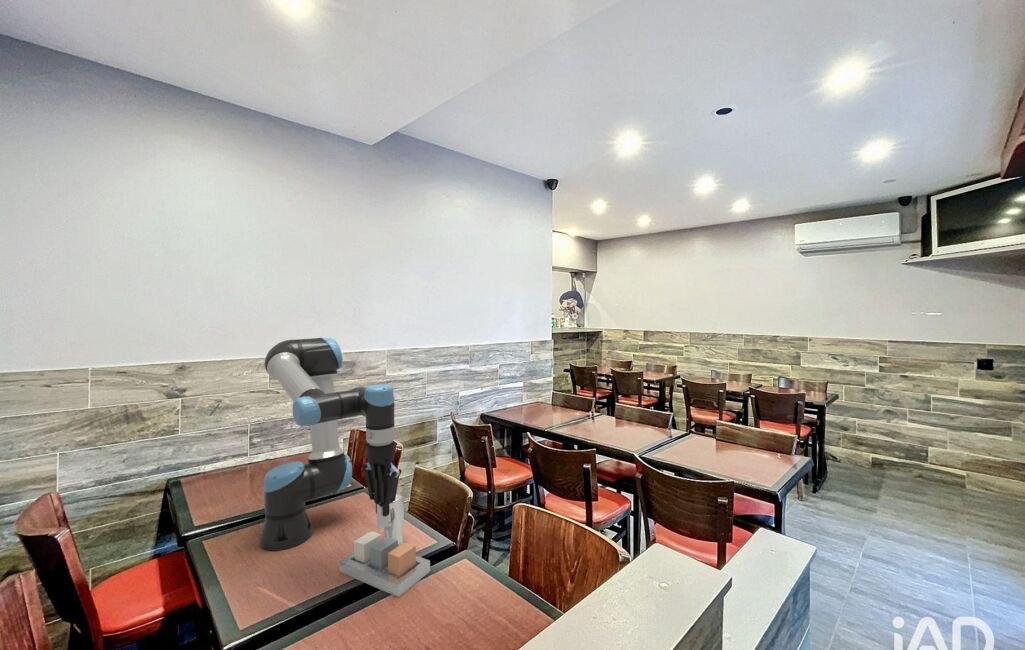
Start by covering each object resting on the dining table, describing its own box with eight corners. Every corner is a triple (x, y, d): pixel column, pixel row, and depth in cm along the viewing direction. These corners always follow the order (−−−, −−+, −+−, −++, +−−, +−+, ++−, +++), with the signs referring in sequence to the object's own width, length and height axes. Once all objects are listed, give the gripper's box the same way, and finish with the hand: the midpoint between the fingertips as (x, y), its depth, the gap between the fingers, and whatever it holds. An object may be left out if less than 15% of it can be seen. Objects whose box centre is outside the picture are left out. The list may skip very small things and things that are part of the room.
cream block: (354, 558, 119) (353, 541, 119) (372, 548, 125) (371, 531, 124) (364, 562, 117) (363, 545, 117) (381, 551, 123) (381, 534, 122)
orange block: (388, 571, 113) (387, 553, 112) (405, 559, 118) (404, 542, 118) (399, 576, 111) (398, 557, 110) (416, 563, 116) (415, 545, 116)
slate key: (371, 565, 116) (370, 547, 116) (388, 553, 121) (387, 536, 121) (381, 569, 114) (380, 551, 114) (398, 557, 119) (397, 540, 119)
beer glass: (399, 551, 129) (397, 503, 129) (377, 549, 130) (376, 501, 130) (409, 539, 136) (407, 493, 135) (388, 538, 137) (387, 492, 137)
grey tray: (340, 575, 118) (340, 561, 118) (374, 553, 128) (374, 540, 128) (398, 600, 107) (397, 585, 107) (430, 574, 117) (429, 560, 117)
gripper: (353, 442, 117) (355, 526, 118) (387, 449, 110) (389, 538, 111) (374, 434, 123) (377, 514, 124) (408, 441, 116) (410, 525, 117)
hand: (383, 526), depth 117 cm, fingers closed
